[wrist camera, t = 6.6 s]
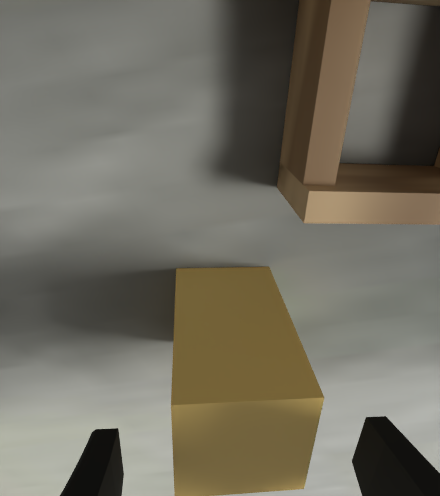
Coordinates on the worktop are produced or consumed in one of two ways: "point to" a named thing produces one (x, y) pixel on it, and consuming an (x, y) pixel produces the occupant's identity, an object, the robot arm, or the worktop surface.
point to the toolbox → (342, 130)
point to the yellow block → (239, 386)
